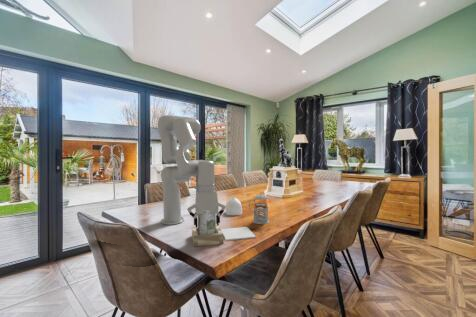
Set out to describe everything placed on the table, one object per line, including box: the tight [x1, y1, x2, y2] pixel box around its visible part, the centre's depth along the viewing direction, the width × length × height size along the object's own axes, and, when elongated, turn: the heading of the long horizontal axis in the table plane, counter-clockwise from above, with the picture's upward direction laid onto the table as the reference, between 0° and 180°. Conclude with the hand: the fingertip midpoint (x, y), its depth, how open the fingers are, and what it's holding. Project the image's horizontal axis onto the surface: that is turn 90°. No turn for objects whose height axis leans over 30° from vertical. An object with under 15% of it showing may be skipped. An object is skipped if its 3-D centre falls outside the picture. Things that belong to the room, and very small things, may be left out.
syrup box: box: [197, 210, 217, 235], centre depth 107 cm, size 6×6×14 cm
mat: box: [220, 226, 256, 242], centre depth 114 cm, size 14×14×1 cm
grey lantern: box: [248, 177, 270, 225], centre depth 133 cm, size 10×12×25 cm
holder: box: [191, 224, 224, 247], centre depth 107 cm, size 13×13×4 cm
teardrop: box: [224, 194, 243, 216], centre depth 151 cm, size 11×11×12 cm
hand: (207, 225), depth 107 cm, fingers open, 9 cm apart
